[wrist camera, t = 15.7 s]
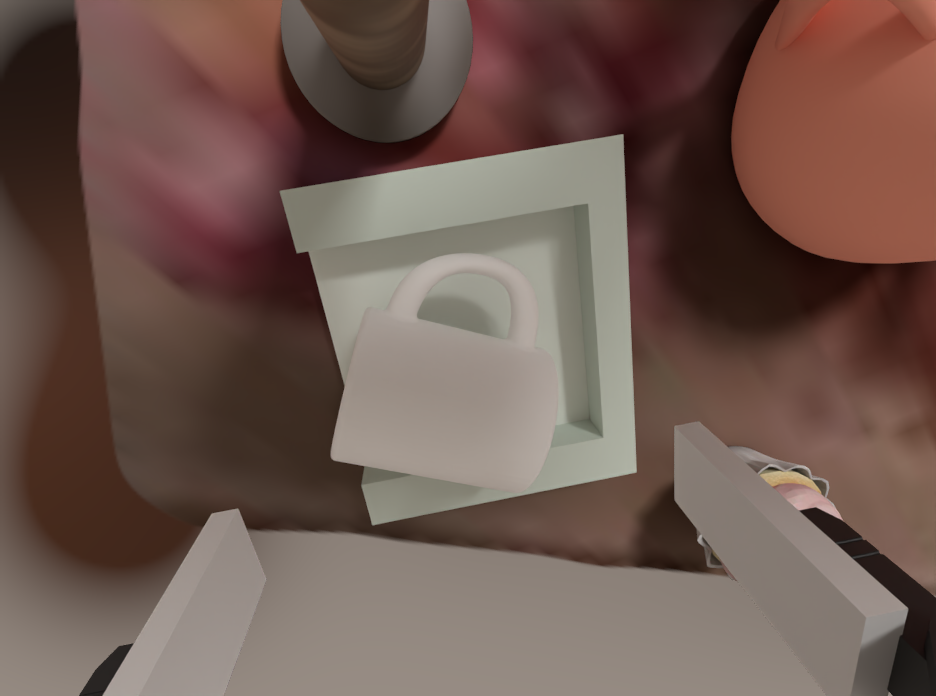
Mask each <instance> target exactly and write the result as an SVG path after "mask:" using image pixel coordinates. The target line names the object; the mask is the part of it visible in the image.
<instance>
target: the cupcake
mask: <svg viewBox="0 0 936 696" xmlns="http://www.w3.org/2000/svg"><path fill="white" fill-rule="evenodd" d="M728 448H729V449H730V450H732V451H733V452H734V453H735V454H736V455H737V456H738V457H739V458H741V459H742V460H743V461H744V462H745V463H746V464H747V465H748V466H749V467H751V468H752V469H753V470H754V471H755V472H756V473H757V474H758V475H760V476H761V477H762V478H763V479H764V480H765V481H766V482H767V483H768V484H770V485H771V486H772V487H773V488H774V489H775V490H776V491H777V492H779V493H780V494H781V495H782V496H783V497H784V498H785V499H786V500H787V501H789V502H790V503H791V504H792V505H793V506H794V507H795V508H796V509H798V510H804V509H809V508H814V507H817V508H819V509H821V510H823V511H825V512H827V513H829V514H831V515H833V516H835V517H837V518H839V519H841V520H842V518H841V516H840V513H839V512H838V511H837V510H836V508H835V506H834V504H833V503H832V502H831V501H830V500H828V499H827V498H826V497H827V494H828V490H829V483H828V481H826V480H825V479H823V478H819V477H815V476H812V475H811V472H810V469H808V468H807V467H805V466H802V465H798V464H793V463H789V462H784V461H779V460H777V459H774V458H771V457H769V456H766V455H764V454H761V453H759V452H757V451H755V450H752V449H750V448H746V447H740V446H730V447H728ZM842 521H843V520H842ZM697 541H698V542H699V544H701V545H702V546H704V550H705V557H706V563H707V566H708V567H711V568H724V569H725V571H726V572H727V574H728V576H729V578H730V579H731V580H735V581H737V580H736V579H735V577H734V576H733V575H732V574H731V572H730V571H729V570H728V568H727V567H726V566H725V565H724V563H723V562H722V561H721V559H720V558H719V557H718V556H717V554H716V553H715V552H714V550H713V549H712V548H711V547H710V545H709V544H708V543H707V541H706V540H705V539H704V538H703V536H702V535H701V534H700V532H699V531H698V530H697ZM737 582H738V581H737Z"/></svg>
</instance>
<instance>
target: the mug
mask: <svg viewBox="0 0 936 696" xmlns="http://www.w3.org/2000/svg"><path fill="white" fill-rule="evenodd" d="M460 273H471V274H479V275H484V276H488V277H491V278H493V279H495V280H497V281H499V282H500V283H501V284H502V285H503V286H504V287H505V288H506V290H507V292H508V294H509V298H510V303H511V319H510V327H509V332H508V336H507V338H506V339H500V338H496V337H492V336H488V335H484V334H479V333H475V332H471V331H467V330H463V329H459V328H455V327H451V326H447V325H443V324H438V323H434V322H430V321H426V320H422V319H418V318H417V312H418V310H419V308H420V306H421V304H422V302H423V300H424V298H425V297H426V295H427V294H428V293H429V291H430V290H431V289H432V288H433V287H434V286H435V285H436V284H437V283H438V282H439V281H441V280H442V279H444V278H446V277H448V276H451V275H454V274H460ZM538 316H539V315H538V303H537V298H536V295H535V292H534V289H533V287H532V285H531V283H530V282H529V280H528V279H527V278H526V276H525V275H524V274H523V273H522V272H521V271H520V270H519V269H517V268H516V267H514V266H513V265H511V264H510V263H508V262H506V261H503V260H501V259H498V258H495V257H491V256H487V255H481V254H472V253H457V254H449V255H443V256H439V257H436V258H433V259H430V260H428V261H426V262H424V263H422V264H420V265H419V266H417V267H416V268H414V269H413V270H412V271H411V272H409V273H408V274H407V275H406V276H405V277H404V279H403V280H402V281H401V282H400V284H399V285H398V287H397V288H396V290H395V292H394V293H393V295H392V298H391V300H390V302H389V304H388V307H387V309H385V310H381V309H377V308H373V307H369V308H367V309H366V310H365V312H364V315H363V318H362V322H361V325H360V329H359V332H358V336H357V340H356V343H355V347H354V351H353V355H352V359H351V363H350V367H349V371H348V375H347V379H346V383H345V388H344V392H343V396H342V400H341V405H340V409H339V413H338V418H337V422H336V427H335V432H334V437H333V442H332V447H331V458H332V459H333V460H334V461H339V462H345V463H350V464H356V465H361V466H367V467H372V468H378V469H383V470H389V471H395V472H400V473H406V474H411V475H417V476H422V477H428V478H433V479H439V480H445V481H450V482H456V483H461V484H467V485H472V486H478V487H483V488H489V489H495V490H500V491H506V492H511V493H520V492H523V491H524V490H526V489H527V488H528V487H529V486H530V485H531V484H532V483H533V482H534V481H535V479H536V478H537V476H538V475H539V473H540V471H541V469H542V467H543V465H544V462H545V460H546V457H547V455H548V452H549V449H550V446H551V442H552V438H553V434H554V430H555V425H556V419H557V411H558V398H559V386H558V375H557V370H556V366H555V363H554V360H553V358H552V357H551V355H550V354H549V353H548V352H547V351H546V350H544V349H541V348H537V347H535V341H536V336H537V329H538Z"/></svg>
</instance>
